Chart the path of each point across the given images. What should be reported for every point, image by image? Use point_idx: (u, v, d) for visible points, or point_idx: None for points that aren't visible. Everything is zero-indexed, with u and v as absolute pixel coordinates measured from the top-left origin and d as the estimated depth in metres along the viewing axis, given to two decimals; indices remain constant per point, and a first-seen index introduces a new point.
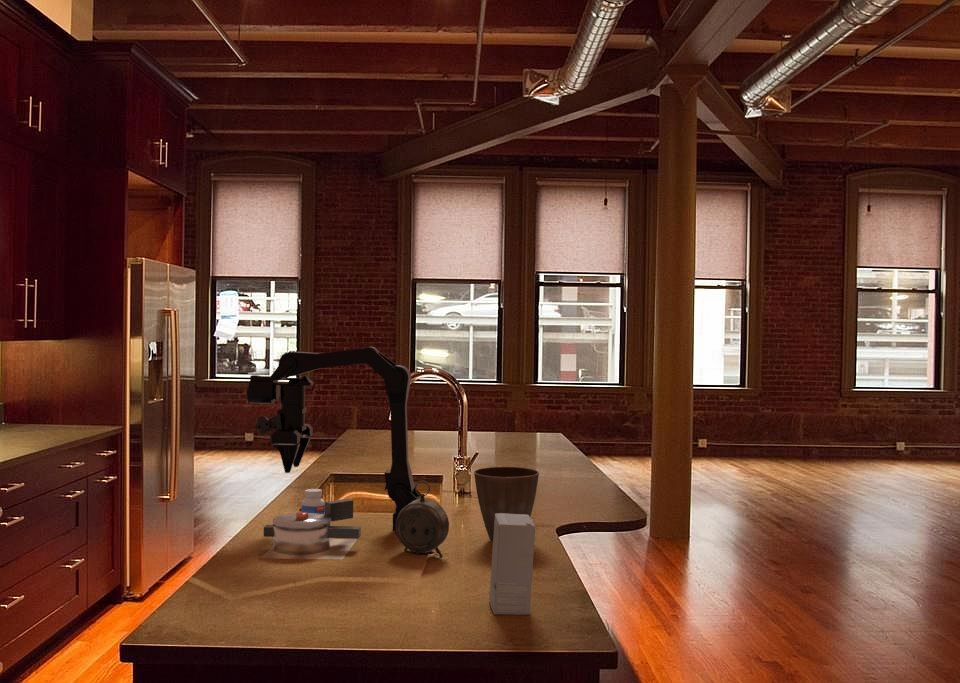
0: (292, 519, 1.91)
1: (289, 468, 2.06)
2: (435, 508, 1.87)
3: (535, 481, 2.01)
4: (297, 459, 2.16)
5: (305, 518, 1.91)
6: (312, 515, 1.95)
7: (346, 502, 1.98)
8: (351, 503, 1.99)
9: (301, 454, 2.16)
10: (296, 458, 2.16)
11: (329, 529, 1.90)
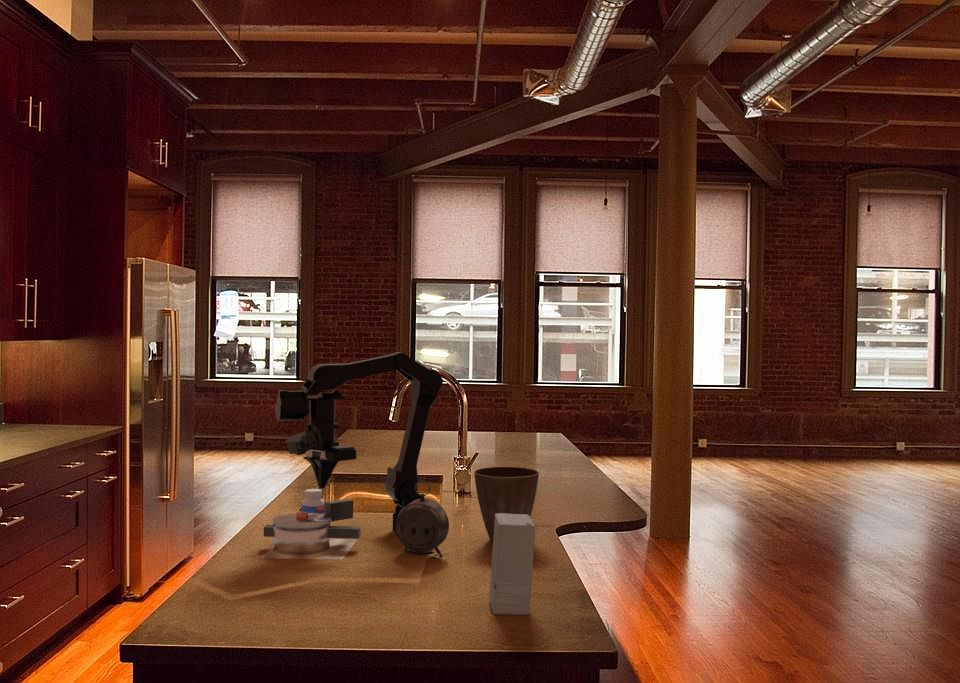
0: (292, 519, 1.91)
1: (325, 483, 2.02)
2: (435, 508, 1.87)
3: (535, 481, 2.01)
4: None
5: (305, 518, 1.91)
6: (312, 515, 1.95)
7: (346, 502, 1.98)
8: (351, 503, 1.99)
9: None
10: None
11: (329, 529, 1.90)
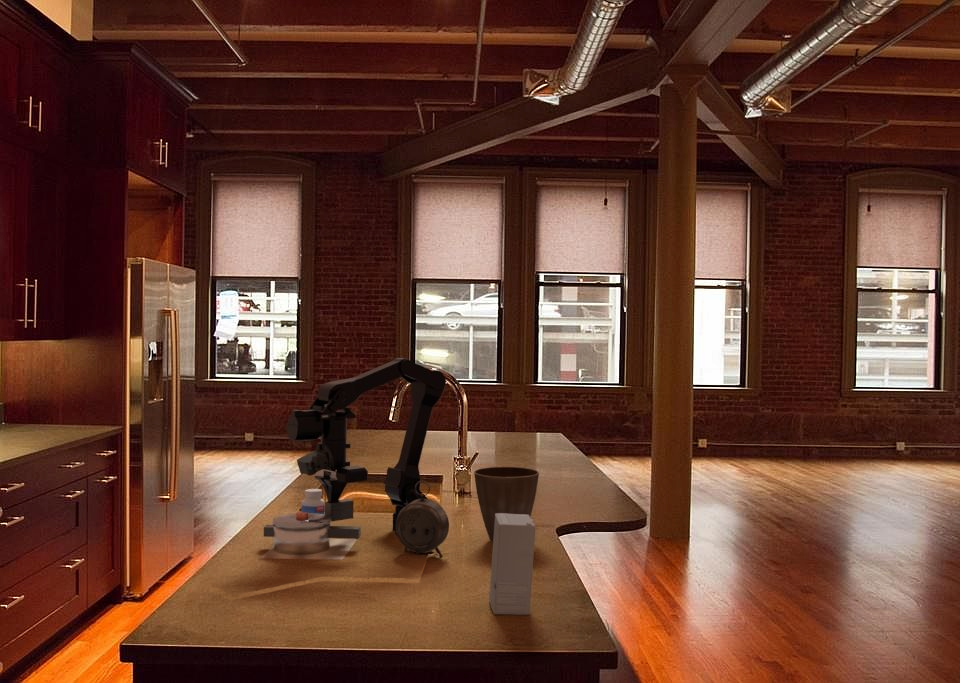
0: (292, 519, 1.91)
1: None
2: (435, 508, 1.87)
3: (535, 481, 2.01)
4: None
5: (305, 518, 1.91)
6: (312, 515, 1.95)
7: (346, 502, 1.98)
8: (351, 503, 1.99)
9: None
10: None
11: (329, 529, 1.90)
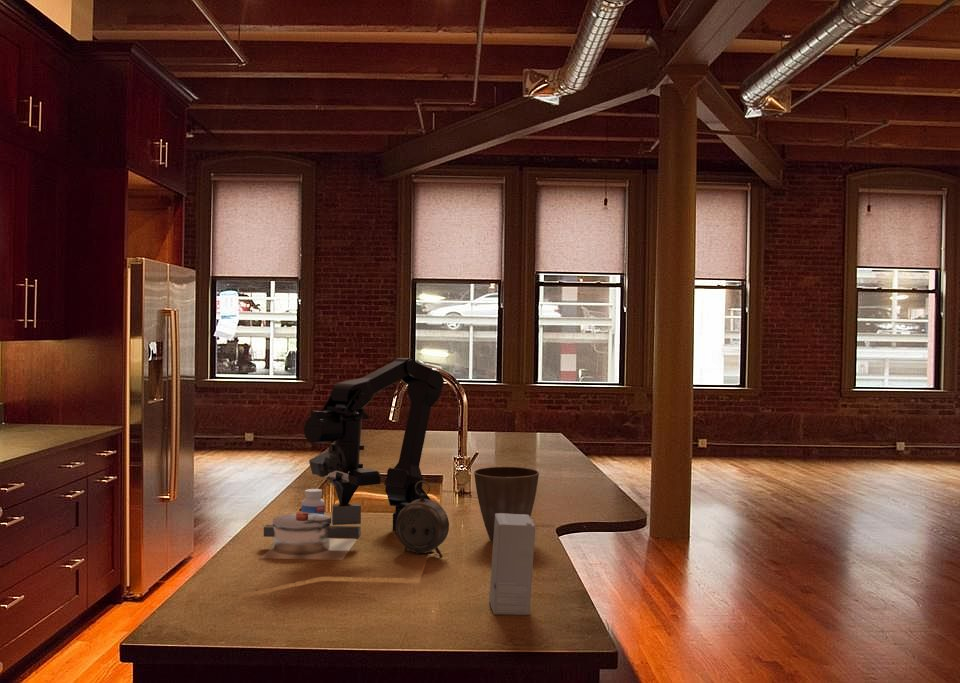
0: (292, 518, 1.92)
1: None
2: (435, 508, 1.87)
3: (535, 481, 2.01)
4: (345, 502, 1.96)
5: (302, 518, 1.90)
6: (318, 516, 1.94)
7: (352, 507, 1.93)
8: (358, 508, 1.93)
9: None
10: None
11: (329, 529, 1.90)
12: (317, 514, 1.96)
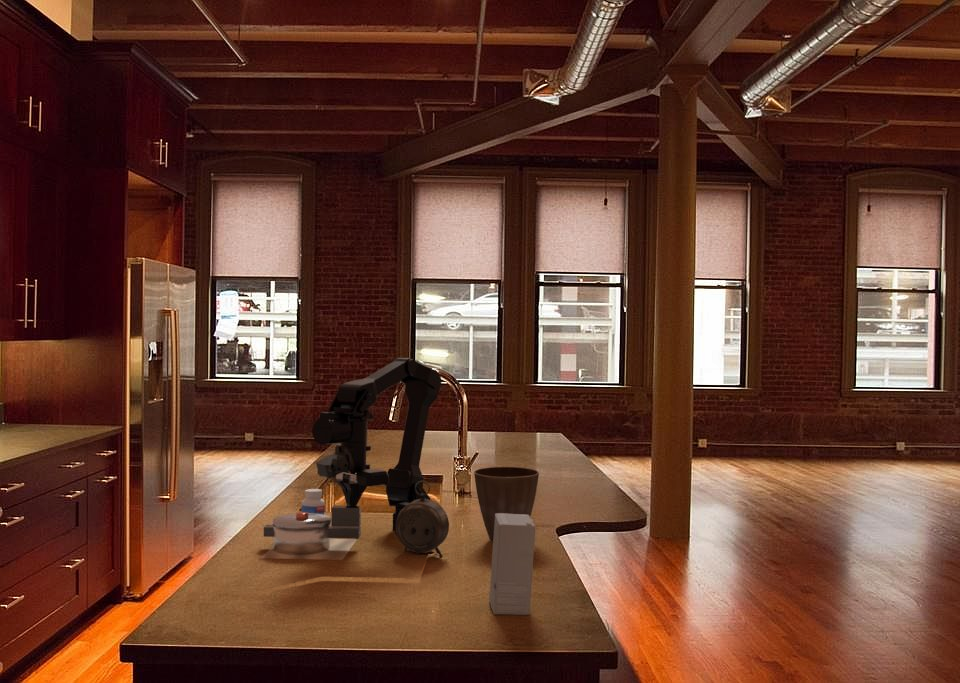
0: (293, 518, 1.92)
1: None
2: (435, 508, 1.87)
3: (535, 481, 2.01)
4: None
5: (301, 518, 1.90)
6: (320, 517, 1.93)
7: (351, 509, 1.91)
8: (357, 511, 1.91)
9: None
10: None
11: (329, 529, 1.90)
12: (321, 515, 1.96)
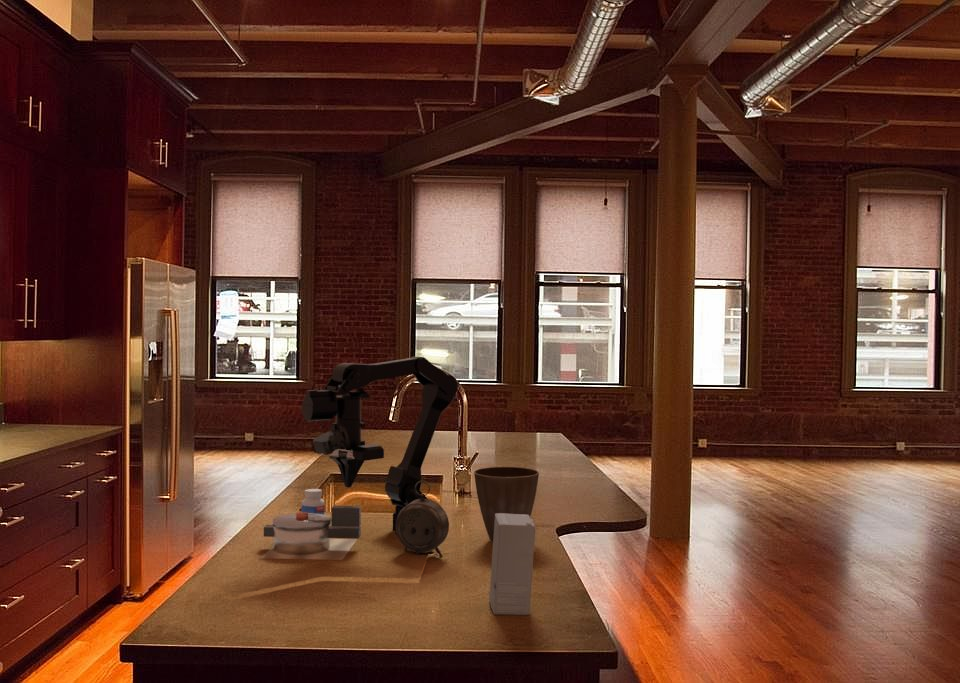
0: (293, 518, 1.92)
1: (352, 482, 2.01)
2: (435, 508, 1.87)
3: (535, 481, 2.01)
4: None
5: (301, 518, 1.90)
6: (320, 517, 1.93)
7: (350, 509, 1.90)
8: (357, 511, 1.91)
9: None
10: None
11: (329, 529, 1.90)
12: (321, 515, 1.96)
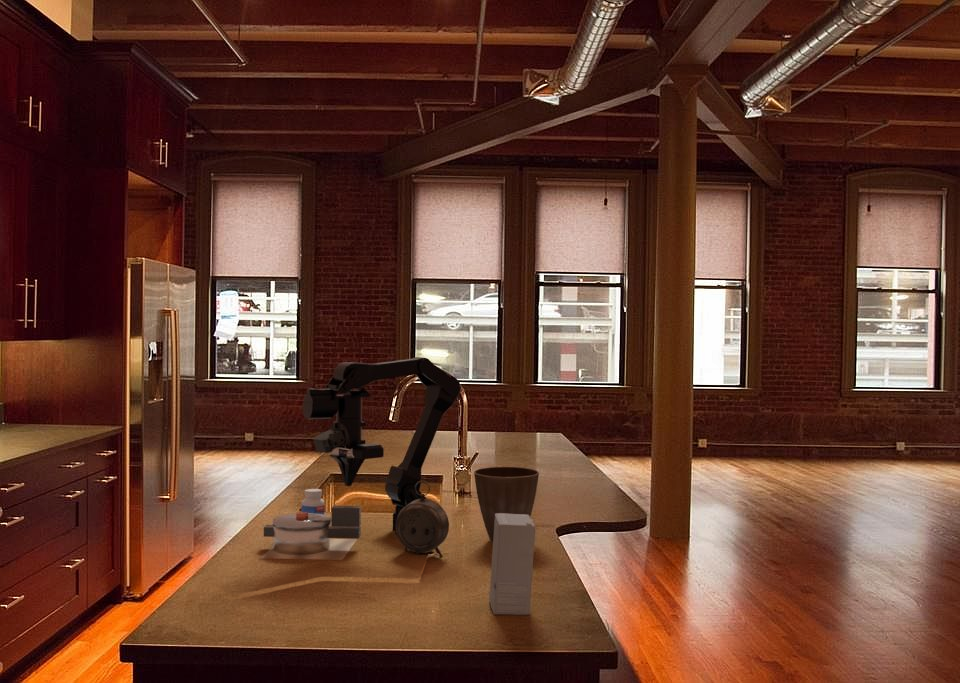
0: (293, 518, 1.92)
1: (352, 481, 2.02)
2: (435, 508, 1.87)
3: (535, 481, 2.01)
4: None
5: (301, 518, 1.90)
6: (320, 517, 1.93)
7: (350, 509, 1.90)
8: (357, 511, 1.91)
9: None
10: None
11: (329, 529, 1.90)
12: (321, 515, 1.96)
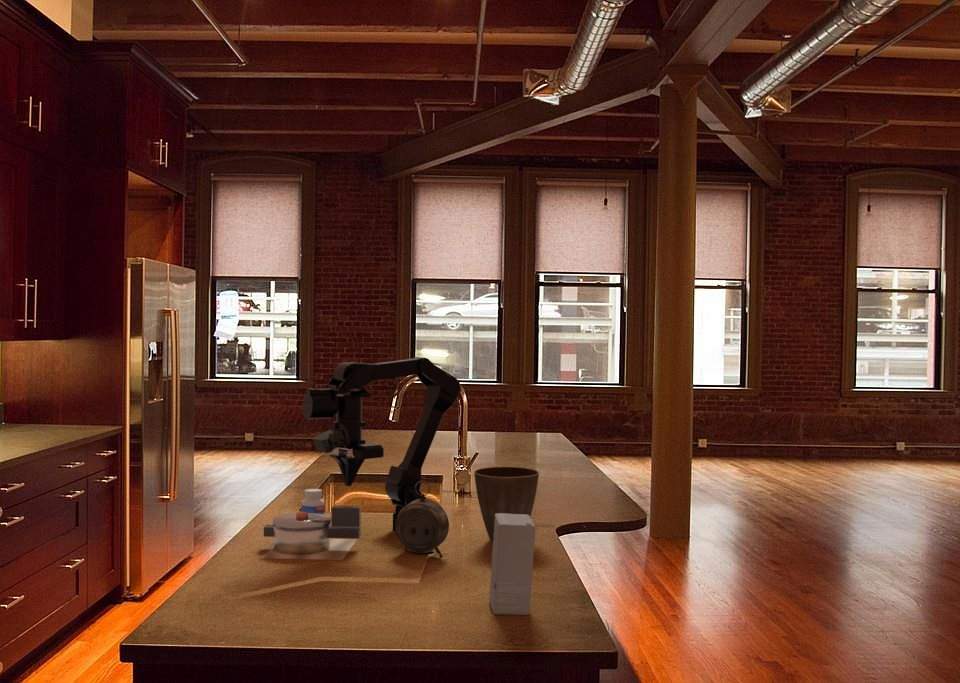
0: (293, 518, 1.92)
1: (352, 481, 2.02)
2: (435, 508, 1.87)
3: (535, 481, 2.01)
4: None
5: (301, 518, 1.90)
6: (320, 517, 1.93)
7: (350, 509, 1.90)
8: (357, 511, 1.91)
9: None
10: None
11: (329, 529, 1.90)
12: (321, 515, 1.96)
